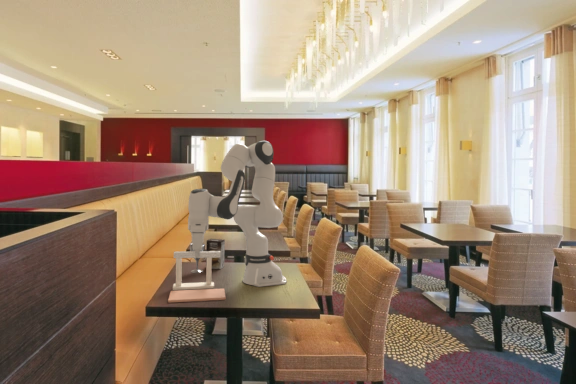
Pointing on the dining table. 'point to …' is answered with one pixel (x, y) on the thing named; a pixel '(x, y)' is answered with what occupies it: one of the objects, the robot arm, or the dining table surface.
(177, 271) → the cradle stand
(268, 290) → the dining table surface
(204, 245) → the wine glass
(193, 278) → the dining table surface
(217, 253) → the aluminium rail
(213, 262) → the coffee box
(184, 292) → the terracotta board
